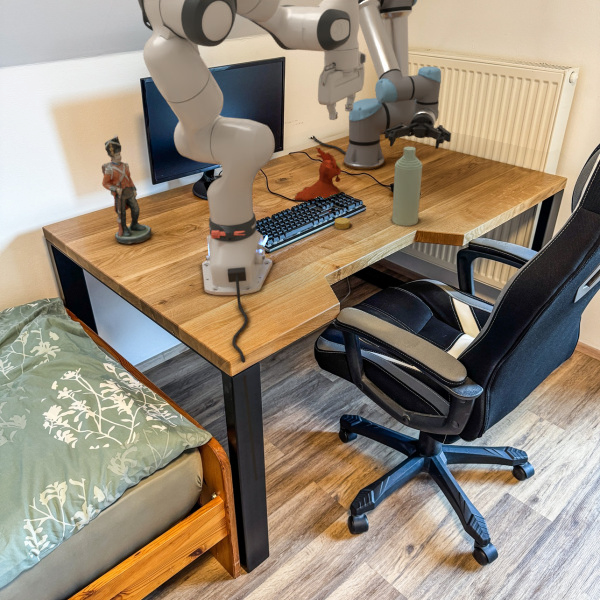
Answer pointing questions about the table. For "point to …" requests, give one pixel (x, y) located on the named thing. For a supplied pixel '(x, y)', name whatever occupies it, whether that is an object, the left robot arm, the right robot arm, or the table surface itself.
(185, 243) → the table surface
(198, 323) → the table surface
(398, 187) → the bottle
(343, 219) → the cap
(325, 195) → the toy
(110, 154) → the figurine
